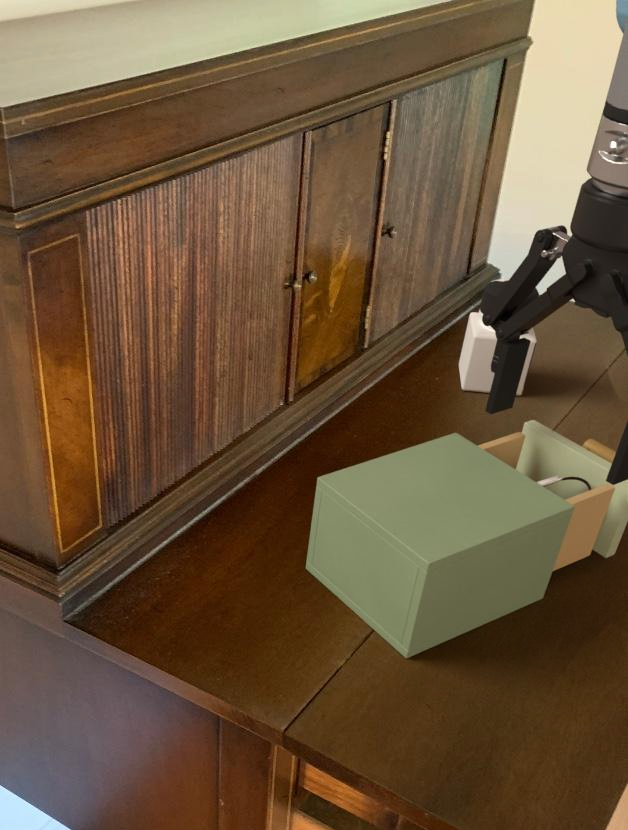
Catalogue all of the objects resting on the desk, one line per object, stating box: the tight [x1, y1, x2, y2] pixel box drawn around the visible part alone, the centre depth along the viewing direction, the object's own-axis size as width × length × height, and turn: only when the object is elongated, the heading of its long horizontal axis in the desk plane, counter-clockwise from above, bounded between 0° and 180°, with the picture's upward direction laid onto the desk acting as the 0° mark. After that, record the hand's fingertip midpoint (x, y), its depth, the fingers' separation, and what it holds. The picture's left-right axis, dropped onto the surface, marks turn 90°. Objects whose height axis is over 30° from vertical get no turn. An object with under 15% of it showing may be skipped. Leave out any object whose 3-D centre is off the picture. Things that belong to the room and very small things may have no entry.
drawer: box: [477, 419, 628, 572], centre depth 84 cm, size 21×12×8 cm, turn 120°
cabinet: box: [305, 432, 575, 659], centre depth 79 cm, size 16×14×10 cm
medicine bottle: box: [458, 277, 540, 397], centre depth 109 cm, size 7×7×12 cm
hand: (556, 442), depth 80 cm, fingers open, 13 cm apart
